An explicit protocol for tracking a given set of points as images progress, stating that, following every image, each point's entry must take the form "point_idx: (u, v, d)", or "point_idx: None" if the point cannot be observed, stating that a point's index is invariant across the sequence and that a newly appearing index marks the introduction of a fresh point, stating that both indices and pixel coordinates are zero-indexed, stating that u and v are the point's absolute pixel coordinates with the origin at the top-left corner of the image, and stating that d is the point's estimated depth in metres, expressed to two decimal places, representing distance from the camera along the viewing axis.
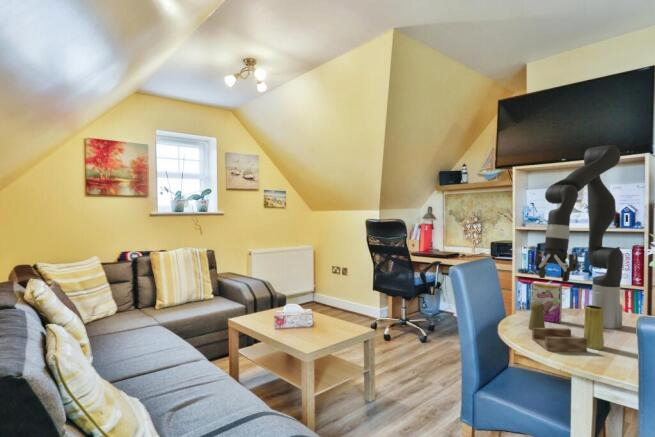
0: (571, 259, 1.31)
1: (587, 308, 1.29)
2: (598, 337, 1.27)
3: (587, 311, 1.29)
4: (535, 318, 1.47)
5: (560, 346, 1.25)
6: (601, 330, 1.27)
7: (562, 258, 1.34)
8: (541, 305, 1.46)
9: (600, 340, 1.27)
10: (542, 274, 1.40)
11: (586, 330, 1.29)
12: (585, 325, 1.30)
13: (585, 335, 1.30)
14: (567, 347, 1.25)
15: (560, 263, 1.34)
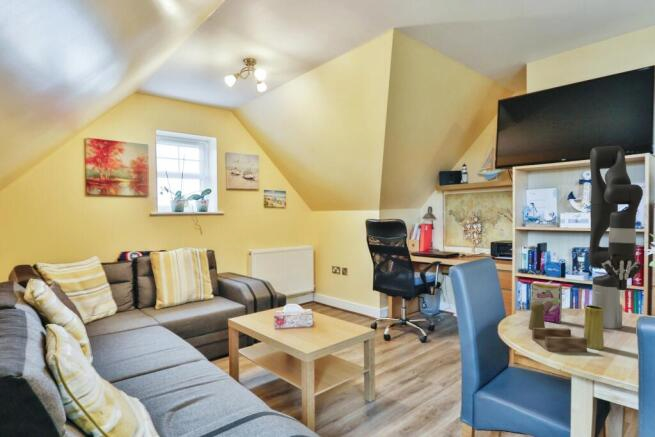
0: (638, 269, 1.27)
1: (587, 308, 1.29)
2: (598, 337, 1.27)
3: (587, 311, 1.29)
4: (535, 318, 1.47)
5: (560, 346, 1.25)
6: (601, 330, 1.27)
7: (630, 266, 1.27)
8: (541, 305, 1.46)
9: (600, 340, 1.27)
10: None
11: (586, 330, 1.29)
12: (585, 325, 1.30)
13: (585, 335, 1.30)
14: (567, 347, 1.25)
15: (628, 270, 1.27)
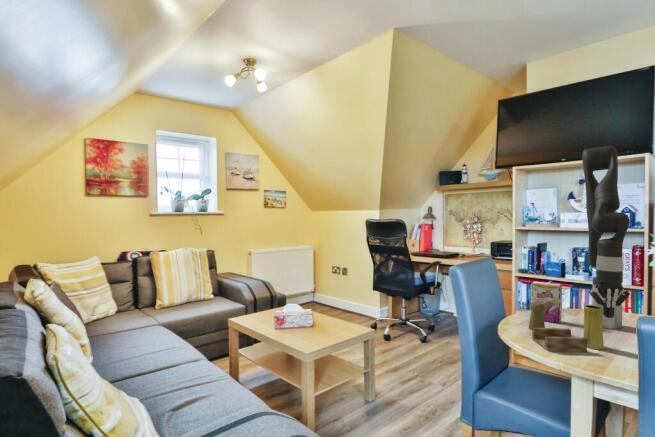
0: (626, 297, 1.27)
1: (586, 308, 1.29)
2: (598, 336, 1.27)
3: (586, 311, 1.29)
4: (535, 318, 1.47)
5: (560, 346, 1.25)
6: (600, 330, 1.27)
7: (618, 294, 1.28)
8: (541, 305, 1.46)
9: (600, 340, 1.27)
10: None
11: (586, 330, 1.29)
12: (584, 325, 1.30)
13: (585, 335, 1.30)
14: (567, 347, 1.25)
15: (615, 298, 1.27)
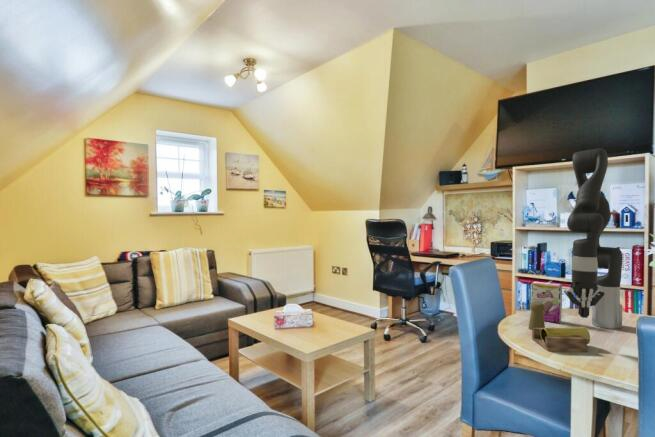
0: (600, 297, 1.28)
1: None
2: None
3: None
4: (535, 318, 1.47)
5: (560, 346, 1.25)
6: (569, 334, 1.28)
7: (592, 294, 1.28)
8: (541, 305, 1.46)
9: (580, 336, 1.27)
10: None
11: None
12: None
13: None
14: (567, 347, 1.25)
15: (590, 298, 1.28)
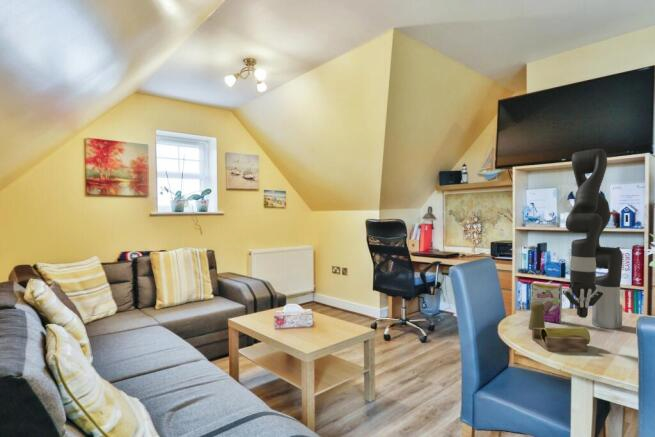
0: (599, 297, 1.28)
1: None
2: None
3: None
4: (535, 318, 1.47)
5: (560, 346, 1.25)
6: (569, 335, 1.28)
7: (591, 294, 1.28)
8: (541, 305, 1.46)
9: (580, 336, 1.27)
10: None
11: None
12: None
13: None
14: (567, 347, 1.25)
15: (588, 298, 1.28)
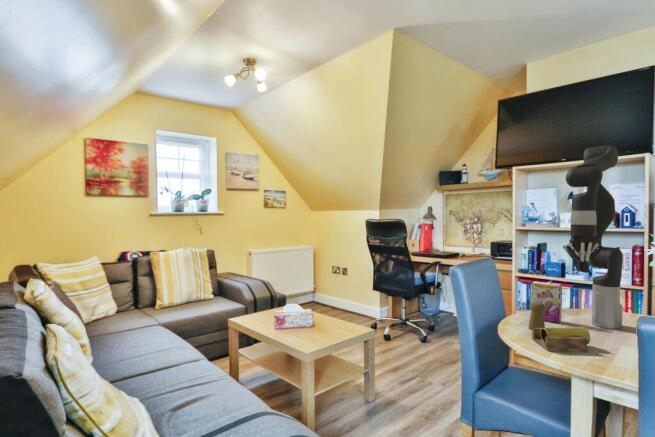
0: (599, 251, 1.28)
1: None
2: None
3: None
4: (535, 318, 1.47)
5: (560, 346, 1.25)
6: (569, 335, 1.28)
7: (591, 248, 1.28)
8: (541, 305, 1.46)
9: (580, 336, 1.27)
10: None
11: None
12: None
13: None
14: (567, 347, 1.25)
15: (589, 252, 1.28)
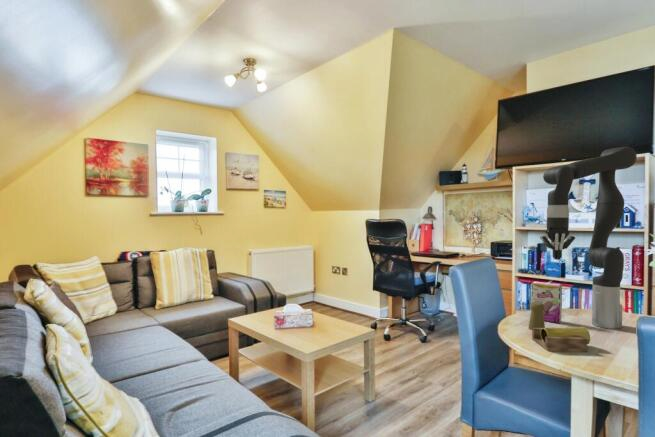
0: (571, 240, 1.45)
1: None
2: None
3: None
4: (535, 318, 1.47)
5: (560, 346, 1.25)
6: (569, 335, 1.28)
7: (565, 238, 1.45)
8: (541, 305, 1.46)
9: (580, 336, 1.27)
10: None
11: None
12: None
13: None
14: (567, 347, 1.25)
15: (562, 242, 1.44)
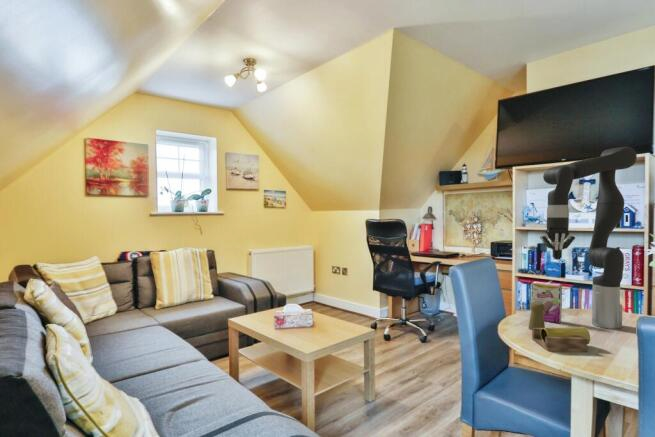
0: (571, 240, 1.45)
1: None
2: None
3: None
4: (535, 318, 1.47)
5: (560, 346, 1.25)
6: (569, 335, 1.28)
7: (564, 238, 1.45)
8: (541, 305, 1.46)
9: (580, 336, 1.27)
10: None
11: None
12: None
13: None
14: (567, 347, 1.25)
15: (562, 242, 1.44)
